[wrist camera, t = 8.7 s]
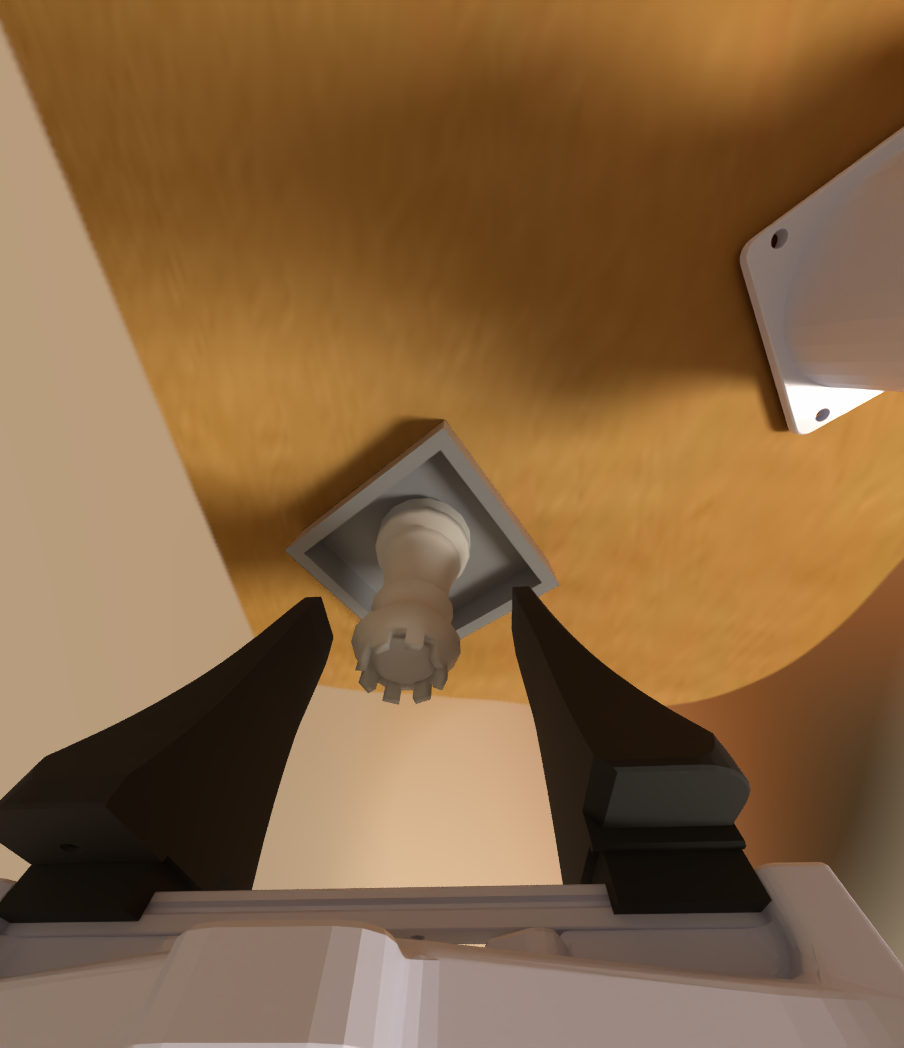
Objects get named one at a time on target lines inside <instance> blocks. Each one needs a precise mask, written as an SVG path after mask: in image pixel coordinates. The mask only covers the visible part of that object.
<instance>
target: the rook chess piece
mask: <svg viewBox="0 0 904 1048" xmlns="http://www.w3.org/2000/svg"><path fill="white" fill-rule="evenodd" d="M375 547H376V553H377V558H378V564H379V566H380V567H381V569H382V573H383V574H384V582H383V588H382V589H381V590H380V591H379V592H378V593H377V594H376V595H375V596H374V599H373V602H372V605H371V612H370V613H368V614H367V615H366V616H365V617H364V618H363V619H362V620H361V621H360V622H359V623H358V624H357V625H356V626H355V630H354V634H353V637H352V641H351V642H352V646H353V650H354V653H355V657H356V659H357V660H358V663H357V666H356V669H355V670H360V671H362V673H361V677H360V680H359V683H360V684H361V686H362V687H363V688H364V689H365V690H366V691H367V692H368V693H370V692H371V691H373V690H375V689H376V686H377V682H378V683H380V684H381V685H383V686H385V691H384V696H383V701H385V702H390V703H394V704H399V701H400V695H401V690H414V691H413V699H414V701H415V703H416V704H417V703H420V702H423V701H426V700H430V699H431V689H432V684H433V687H434V688H437V689H439V690H442V689H443V687H444V685H445V683H446V681H447V677H448V671H449V670H451V669H452V668H453V667H454V665H455V663H456V661H457V659H458V657H459V655H460V653H461V652H460V638H459V635H458V634H457V632H456V631H455V629H454V628H453V626H452V625H451V621H452V619H453V607H452V603H451V602H450V600H449V599H448V595H449V591H450V587H451V585H452V584H453V583H454V582H455V581H456V579H457V578H458V577H460V576H461V575H462V573H463V571H464V568H465V566H466V564H467V561H468V559H469V557H470V530H469V528H468V526H467V524H466V522H465V521H464V519H463V517H462V515H461V514H459V513H458V512H457V511H456V510H454V509H453V508H452V507H451V506H449V505H448V504H446V503H443V502H440V501H437V500H434V499H430V498H422V499H409V500H407V501H405V502H403V503H401V504H399V505H397V506H394V507H393V508H392V509H391V510H390V511H389V513H388V514H387V515H386V516H385V517H384V518H383V519H382V522H381V526H380V529H379V533H378V537H377V540H376V544H375Z"/></svg>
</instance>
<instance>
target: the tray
mask: <svg viewBox="0 0 904 1048" xmlns="http://www.w3.org/2000/svg"><path fill="white" fill-rule="evenodd" d="M422 498H430V499H434V500H437V501H440V502H443V503H446V504H448V505H449V506H451V507H452V508H453V509H454V510H456V511H457V512H458V513H459V514H461V515H462V517H463V519H464V521H465V522H466V524H467V526H468V528H469V530H470V557H469V559H468V561H467V564H466V566H465V568H464V571H463V573H462V575H461V576H460V577H458V578H457V579H456V581H455V582H454V583H453V584H452V585H451V587H450V591H449V595H448V599H449V600H450V602H451V603H452V607H453V619H452V621H451V625H452V626H453V628H454V629H455V631H456V632H457V634H458V635H459V638H460V639H462V638H463V637H465V636H467V635H469V634H471V633H473V632H474V631H476V630H478V629H480V628H482V627H484V626H485V625H487V624H489V623H491V622H493V621H494V620H496V619H498V618H500V617H502V616H504V615H505V614H507V613H509V612H511V611H512V587H521V586H529V587H530V588H532V590H533V591H534V592H535V594H536V595H537V596H540V595H542V594H544V593H546V592H548V591H549V590H551V589H553V588H555V587H557V586H559V583H558V581H557V579H556V576H555V574H554V572H553V570H552V568H551V566H550V564H549V562H548V560H547V559H546V558H545V556H544V555H543V553H542V552H541V551H540V549H539V548H538V547H537V545H536V544H535V543H534V541H533V540H532V538H531V537H530V536H529V534H528V533H527V532H526V530H525V529H524V527H523V526H522V525H521V523H520V522H519V521H518V519H517V518H516V516H515V515H514V514H513V512H512V511H511V510H510V508H509V507H508V505H507V504H506V503H505V501H504V500H503V499H502V497H501V496H500V494H499V493H498V492H497V490H496V489H495V488H494V486H493V485H492V484H491V482H490V481H489V479H488V478H487V477H486V475H485V474H484V473H483V471H482V470H481V468H480V467H479V466H478V464H477V463H476V462H475V460H474V459H473V457H472V456H471V455H470V453H469V452H468V451H467V449H466V448H465V446H464V445H463V444H462V442H461V441H460V440H459V438H458V437H457V436H456V434H455V433H454V431H453V430H452V429H451V427H450V426H449V425H448V423H447V422H446V420H444V421H442V422H441V423H440V424H438V425H437V426H436V427H435V428H433V429H432V430H431V431H430V432H428V433H427V434H426V435H424V436H423V437H422V438H421V439H419V440H418V441H417V442H415V443H414V444H413V445H412V446H410V447H409V448H408V449H406V450H405V451H404V452H403V453H401V454H400V455H399V456H398V457H396V458H395V459H394V460H392V461H391V462H390V463H389V464H387V465H386V466H385V467H383V468H382V469H381V470H380V471H378V472H377V473H376V474H375V475H373V476H372V477H371V478H369V479H368V480H367V481H366V482H364V483H363V484H362V485H360V486H359V487H358V488H357V489H355V490H354V491H353V492H351V493H350V494H349V495H348V496H346V497H345V498H344V499H343V500H341V501H340V502H339V503H337V504H336V505H335V506H334V507H332V508H331V509H330V510H328V511H327V512H326V513H325V514H323V515H322V516H321V517H319V518H318V519H317V520H316V521H314V522H313V523H312V524H311V525H309V526H308V527H307V528H305V529H304V530H303V531H302V532H301V533H300V534H299V535H298V536H297V538H296V539H295V540H294V541H293V542H292V543H291V544H290V545H289V546H288V547H287V548H286V550H285V552H286V553H288V554H289V555H290V556H291V557H292V558H293V559H294V560H295V561H297V562H298V563H299V564H300V565H301V566H302V567H303V568H304V569H306V570H307V571H308V572H309V573H310V574H311V575H312V576H313V577H314V578H316V579H317V580H318V581H319V582H320V583H321V584H322V585H323V586H325V587H326V588H327V589H328V590H329V591H330V592H331V593H332V594H334V595H335V596H336V597H337V598H338V599H339V600H340V601H341V602H343V603H344V604H345V605H346V606H347V607H348V608H349V609H350V610H352V611H353V612H354V613H355V614H356V615H357V616H358V617H359V618H360V619H363V618H364V617H365V616H366V615H367V614H368V613H370V612H371V605H372V602H373V599H374V596H375V595H376V594H377V593H378V592H379V591H380V590H381V589H382V588H383V582H384V574H383V573H382V569H381V567H380V566H379V564H378V558H377V553H376V547H375V544H376V540H377V537H378V533H379V529H380V526H381V522H382V519H383V518H384V517H385V516H386V515H387V514H388V513H389V511H390V510H391V509H392V508H393V507H394V506H397V505H399V504H401V503H403V502H405V501H407V500H409V499H422Z"/></svg>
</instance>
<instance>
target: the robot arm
mask: <svg viewBox="0 0 904 1048" xmlns="http://www.w3.org/2000/svg"><path fill="white" fill-rule="evenodd" d="M774 234H776V235H777V237H778V240H777V244H776V246H775V247H774V248H773V247H772V246H771V239H772V237H773V235H774ZM740 265H741V269H742V272H743V276H744V279H745V283H746V286H747V289H748V293H749V296H750V300H751V303H752V306H753V310H754V313H755V317H756V320H757V323H758V327H759V330H760V334H761V337H762V340H763V344H764V347H765V351H766V354H767V358H768V361H769V364H770V368H771V371H772V375H773V378H774V381H775V385H776V388H777V392H778V395H779V398H780V402H781V405H782V409H783V412H784V415H785V419H786V422H787V426H788V429H789V430H790V432H792V433H795V434H800V435H803V434H808V433H810V432H812V431H814V430H816V429H818V428H819V427H821V426H823V425H825V424H827V423H828V422H830V421H832V420H834V419H836V418H837V417H839V416H841V415H843V414H844V413H846V412H848V411H850V410H852V409H853V408H855V407H857V406H859V405H861V404H862V403H864V402H866V401H868V400H870V399H871V398H873V397H875V396H877V395H879V394H880V393H882V392H884V391H896V392H904V126H903V127H902V128H901V129H899V130H898V131H897V132H895V133H894V134H893V135H891V136H890V137H889V138H887V139H886V140H884V141H883V142H882V143H880V144H879V145H878V146H876V147H875V148H874V149H872V150H871V151H869V152H868V153H867V154H865V155H864V156H863V157H861V158H860V159H859V160H857V161H856V162H855V163H853V164H852V165H850V166H849V167H848V168H846V169H845V170H844V171H842V172H841V173H840V174H838V175H837V176H836V177H834V178H833V179H831V180H830V181H829V182H827V183H826V184H825V185H823V186H822V187H821V188H819V189H818V190H816V191H815V192H814V193H812V194H811V195H810V196H808V197H807V198H806V199H804V200H803V201H802V202H800V203H799V204H797V205H796V206H795V207H793V208H792V209H791V210H789V211H788V212H787V213H785V214H784V215H782V216H781V217H780V218H778V219H777V220H776V221H774V222H773V223H772V224H770V225H769V226H768V227H766V228H765V229H763V230H762V231H761V232H759V233H758V234H757V235H755V236H754V237H753V238H751V239H750V240H749V241H748V242H747V243H746V244H745V246H744V248H743V249H742V251H741V255H740ZM819 411H820V413H819V415H818V417H816V414H817V413H818V412H819ZM512 634H513V640H514V646H515V652H516V657H517V660H518V664H519V668H520V671H521V675H522V678H523V682H524V685H525V689H526V692H527V696H528V699H529V703H530V707H531V710H532V714H533V717H534V722H535V726H536V731H537V736H538V741H539V746H540V752H541V757H542V763H543V768H544V774H545V779H546V785H547V790H548V796H549V802H550V808H551V814H552V820H553V826H554V832H555V837H556V844H557V850H558V856H559V863H560V868H561V875H562V881H563V885H525V886H524V885H520V886H468V887H467V886H464V887H412V888H411V887H410V888H409V887H408V888H351V889H300V890H299V889H296V890H252V887H253V883H254V879H255V875H256V870H257V866H258V862H259V858H260V854H261V850H262V846H263V842H264V838H265V834H266V831H267V827H268V823H269V820H270V816H271V813H272V808H273V805H274V802H275V798H276V795H277V792H278V788H279V785H280V781H281V778H282V775H283V772H284V768H285V765H286V762H287V759H288V756H289V753H290V750H291V747H292V744H293V741H294V738H295V735H296V733H297V730H298V727H299V725H300V722H301V720H302V717H303V716H304V713H305V711H306V709H307V706H308V704H309V702H310V700H311V697H312V695H313V692H314V690H315V688H316V686H317V684H318V681H319V679H320V677H321V674H322V672H323V669H324V667H325V665H326V662H327V659H328V655H329V652H330V648H331V645H332V641H333V634H332V631H331V627H330V624H329V621H328V618H327V614H326V611H325V608H324V604H323V601H322V598H321V597H306V598H304V599H303V600H301V601H300V602H299V603H297V604H296V605H295V606H294V607H292V608H291V609H290V610H289V611H287V612H286V613H285V614H284V615H283V616H281V617H280V618H279V619H278V620H276V621H275V622H274V623H273V624H272V625H270V626H269V627H268V628H267V629H265V630H264V631H263V632H262V633H260V634H259V635H258V636H257V637H255V638H254V639H253V640H251V641H250V642H249V643H247V644H246V645H245V646H244V647H242V648H241V649H240V650H238V651H237V652H236V653H234V654H233V655H231V656H230V657H229V658H227V659H226V660H224V661H223V662H222V663H220V664H219V665H217V666H216V667H214V668H213V669H211V670H210V671H208V672H207V673H205V674H204V675H202V676H201V677H199V678H197V679H196V680H194V681H193V682H191V683H189V684H188V685H186V686H184V687H183V688H181V689H179V690H177V691H176V692H174V693H172V694H171V695H169V696H167V697H166V698H164V699H162V700H160V701H159V702H157V703H155V704H153V705H151V706H150V707H148V708H146V709H144V710H142V711H140V712H138V713H136V714H135V715H133V716H131V717H129V718H127V719H125V720H123V721H121V722H119V723H117V724H115V725H113V726H111V727H109V728H107V729H105V730H103V731H100V732H98V733H96V734H94V735H92V736H90V737H88V738H85V739H83V740H81V741H79V742H77V743H75V744H72V745H70V746H68V747H66V748H63V749H61V750H59V751H57V752H55V753H52V754H50V755H48V756H46V757H44V758H43V759H42V760H41V761H40V762H39V763H38V764H37V765H36V766H35V767H34V768H33V769H32V770H31V771H30V772H29V773H28V774H27V775H26V776H25V777H23V779H21V781H19V782H18V783H17V784H16V785H15V786H14V787H13V788H12V789H11V790H10V791H9V792H8V793H7V794H6V795H5V796H4V797H3V798H2V799H1V800H0V843H1V844H2V845H4V846H6V847H7V848H8V849H10V850H11V851H13V852H14V853H15V854H17V855H18V856H20V857H21V858H23V859H24V860H25V861H27V862H28V863H30V864H32V865H31V866H30V867H29V868H28V870H27V871H26V872H25V873H24V874H23V876H22V877H21V878H20V879H19V880H18V882H16V881H12V880H8V879H1V878H0V1048H904V967H903V966H902V964H901V963H900V961H899V960H898V959H897V957H896V956H895V955H894V953H893V952H892V951H891V949H890V948H889V947H888V945H887V944H886V943H885V941H884V940H883V939H882V937H881V936H880V935H879V933H878V932H877V931H876V929H875V928H874V926H873V925H872V924H871V922H870V921H869V920H868V918H867V917H866V916H865V914H864V913H863V912H862V910H861V909H860V908H859V907H858V905H857V904H856V902H855V901H854V900H853V898H852V897H851V896H850V894H849V893H848V892H847V890H846V889H845V888H844V886H843V885H842V884H841V882H840V881H839V880H838V878H837V877H836V876H835V874H834V873H833V872H832V870H831V869H830V868H829V866H828V865H825V864H824V863H822V862H800V863H798V862H797V863H769V864H764V865H760V866H757V867H756V868H754V869H753V868H752V866H751V864H750V862H749V861H748V859H747V857H746V856H745V854H744V852H743V851H742V849H745V847H746V844H745V841H744V839H743V837H742V836H741V834H740V833H739V831H738V829H737V828H736V826H735V824H734V821H735V820H736V818H737V817H738V815H739V813H740V812H741V810H742V809H743V807H744V805H745V804H746V802H747V799H748V796H749V793H750V786H749V781H748V780H747V778H746V777H745V776H744V774H743V773H742V771H741V770H740V768H739V767H738V766H737V764H736V763H735V761H734V760H733V758H732V757H731V756H730V754H729V753H728V752H727V750H726V749H725V748H724V747H723V745H721V743H720V742H719V741H718V740H717V738H716V737H715V736H714V734H713V733H711V732H710V731H708V730H706V729H704V728H702V727H701V726H699V725H697V724H695V723H693V722H692V721H690V720H688V719H686V718H684V717H683V716H681V715H679V714H677V713H675V712H674V711H672V710H670V709H668V708H667V707H665V706H664V705H662V704H660V703H659V702H657V701H656V700H654V699H652V698H651V697H649V696H648V695H646V694H645V693H643V692H642V691H640V690H639V689H637V688H636V687H634V686H633V685H632V684H630V683H629V682H627V681H626V680H625V679H623V678H622V677H620V676H619V675H618V674H616V673H615V672H613V671H612V670H611V669H610V668H608V667H607V666H606V665H604V664H603V663H602V662H601V661H600V660H598V659H597V658H596V657H595V656H594V655H593V654H591V653H590V652H589V651H588V650H587V649H586V648H585V647H584V646H583V645H582V644H580V643H579V642H578V641H577V640H576V639H575V638H574V637H573V636H572V635H571V634H570V633H569V632H568V631H567V630H566V629H565V628H564V627H563V625H562V624H561V623H560V622H559V621H558V620H557V619H556V618H555V617H554V616H553V614H552V613H551V612H550V611H549V610H548V609H547V607H546V606H545V605H544V604H543V603H542V601H541V600H540V599H539V598H538V596H537V595H536V594H535V592H534V591H533V590H532V588H530V587H529V586H521V587H512ZM458 944H486V945H485V947H476V946H467V945H458Z"/></svg>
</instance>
